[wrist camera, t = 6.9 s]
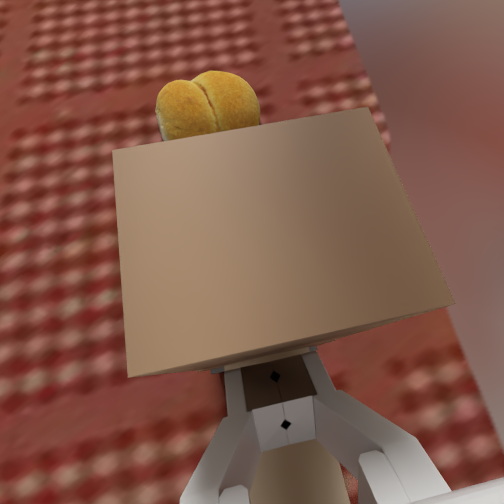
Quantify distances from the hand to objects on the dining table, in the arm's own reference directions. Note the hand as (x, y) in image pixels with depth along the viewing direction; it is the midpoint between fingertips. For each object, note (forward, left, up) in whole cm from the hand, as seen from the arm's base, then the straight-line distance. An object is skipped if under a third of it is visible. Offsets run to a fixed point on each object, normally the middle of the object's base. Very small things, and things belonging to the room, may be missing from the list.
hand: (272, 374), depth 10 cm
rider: (0, +3, -7) cm, 7 cm away
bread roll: (0, +21, -12) cm, 24 cm away
